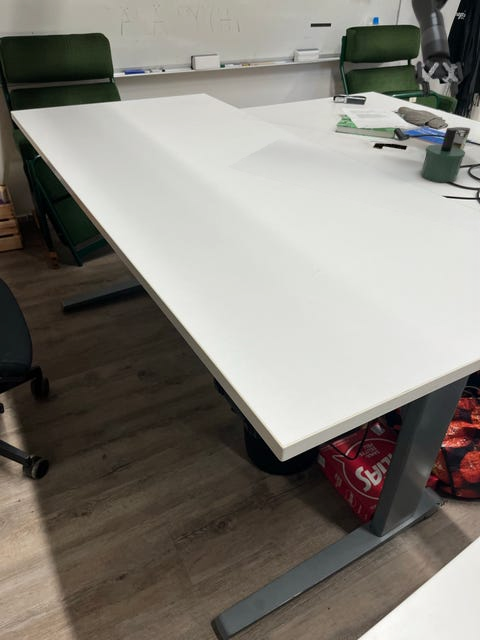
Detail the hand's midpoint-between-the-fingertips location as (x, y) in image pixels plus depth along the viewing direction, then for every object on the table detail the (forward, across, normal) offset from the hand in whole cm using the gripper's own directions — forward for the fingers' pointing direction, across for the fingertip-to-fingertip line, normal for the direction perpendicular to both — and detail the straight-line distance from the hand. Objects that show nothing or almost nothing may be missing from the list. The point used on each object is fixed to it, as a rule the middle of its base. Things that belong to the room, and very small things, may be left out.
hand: (441, 95), depth 143 cm
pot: (+22, 0, +7) cm, 23 cm away
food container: (+13, +10, +16) cm, 23 cm away
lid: (+17, 0, +2) cm, 17 cm away
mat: (+1, -3, +28) cm, 28 cm away
